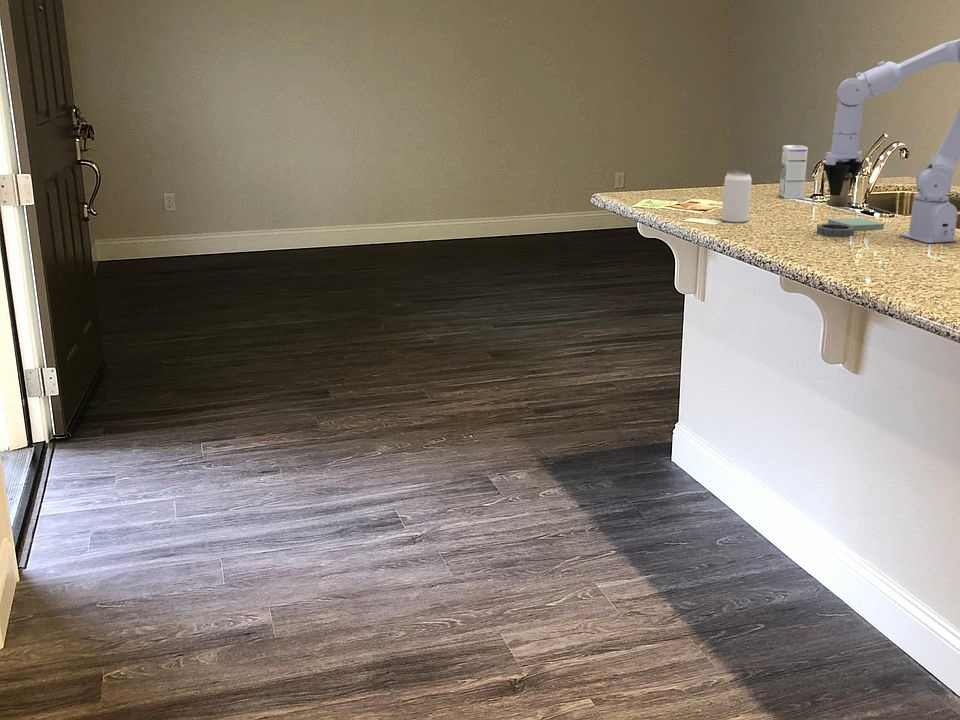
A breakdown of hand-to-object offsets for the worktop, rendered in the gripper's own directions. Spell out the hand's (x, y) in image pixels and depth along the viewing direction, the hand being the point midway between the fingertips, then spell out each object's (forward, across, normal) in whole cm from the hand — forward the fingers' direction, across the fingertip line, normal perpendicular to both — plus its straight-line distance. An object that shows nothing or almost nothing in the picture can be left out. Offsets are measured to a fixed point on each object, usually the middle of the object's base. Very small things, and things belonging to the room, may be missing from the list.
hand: (839, 194), depth 224 cm
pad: (+9, -12, 0) cm, 15 cm away
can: (+9, +2, -25) cm, 27 cm away
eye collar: (+9, 0, 0) cm, 9 cm away
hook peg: (+3, 0, 0) cm, 3 cm away
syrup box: (+9, -43, -33) cm, 55 cm away
